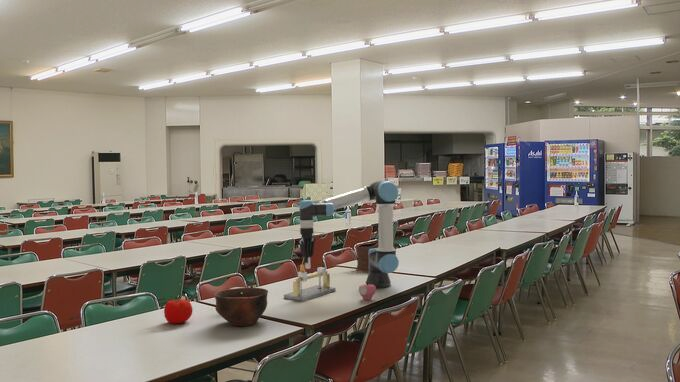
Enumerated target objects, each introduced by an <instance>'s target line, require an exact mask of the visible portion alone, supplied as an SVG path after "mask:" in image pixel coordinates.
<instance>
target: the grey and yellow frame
mask: <svg viewBox="0 0 680 382" xmlns="http://www.w3.org/2000/svg"><path fill="white" fill-rule="evenodd" d="M316 269H317V270H316V271H317V272H316V273H313V274H310V275H309V274H307V280H310V279H314V278H318V284H317V285H313V286H310V287H306V288H302V293H300V281H302V277H301V278H295V281H293V283H292V284H293V285H292V287H293V289H292V290H293V292H289V293H285V294H283V299H286V300H292V301H298V302H306V301H309V300H311V299H315V298H318V297H322V296H324V295H327V294H331V293H333V292H334V293H335V292H336V291H337V290H336V287H331V284H330V283H331V279H330V278H331V277H330V273H328V271H327V268H326V267H322V266H319V267H317V268H316ZM321 278H322V280H323V281H322V280H321ZM322 282H323V284H322Z"/></svg>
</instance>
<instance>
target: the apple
mask: <svg viewBox="0 0 680 382" xmlns="http://www.w3.org/2000/svg"><path fill="white" fill-rule="evenodd" d="M376 291H377V288H376V287H375V286H374V285H372V284H371V285H369V284H368V283H367V280H366V281H365V284H361V285H359V287H358V292H359V294H360V297H361V298H362V300H363V301H371V300H372V298H373V297H374V295H375V294H376Z"/></svg>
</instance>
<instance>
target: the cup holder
mask: <svg viewBox="0 0 680 382" xmlns="http://www.w3.org/2000/svg"><path fill="white" fill-rule="evenodd" d="M350 237H353V238H355V239H357V237H356V235H354V234H349V235H348V236H347V238H346V239H347V240H349V238H350ZM355 246H356V251H357V254H356V255H357V256H356V255H355V253H354V252H353V251H352V250H351V249H350V248H349V247H347V250H348V251H349V252H350V253H351V254H352V255H353V256H354V258H356V261H357V265H356V268H355V270H356V271H358V272H366V273H367V272H368V273H369V255H368V254H369V249H374V248H378V247H379V240H376V241H374V242H373V243H362V244H358V243H357V242H355Z"/></svg>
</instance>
